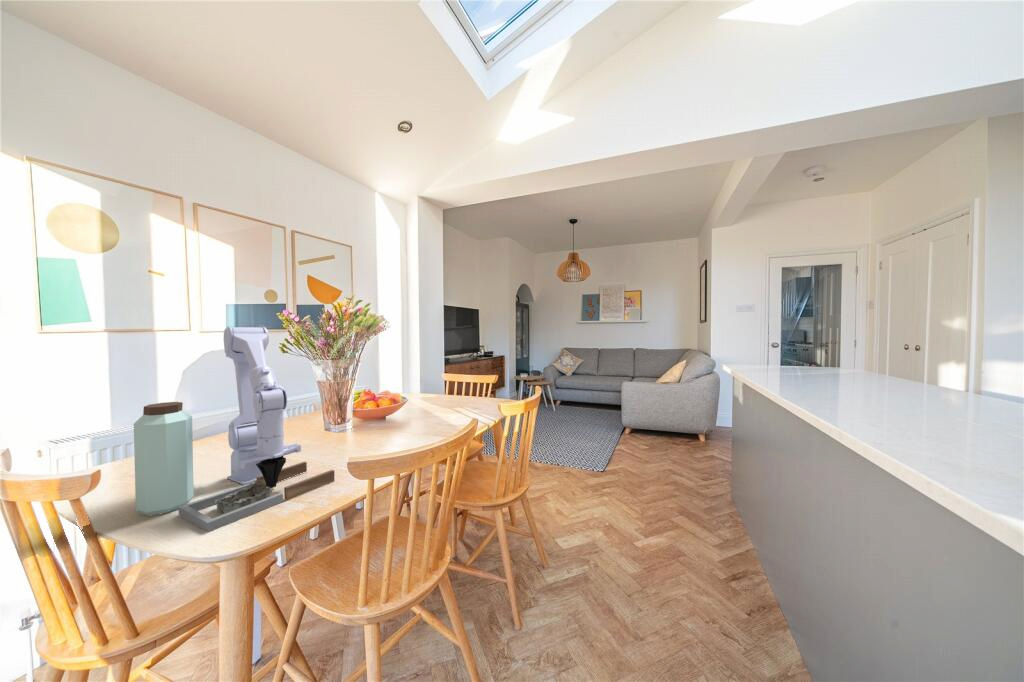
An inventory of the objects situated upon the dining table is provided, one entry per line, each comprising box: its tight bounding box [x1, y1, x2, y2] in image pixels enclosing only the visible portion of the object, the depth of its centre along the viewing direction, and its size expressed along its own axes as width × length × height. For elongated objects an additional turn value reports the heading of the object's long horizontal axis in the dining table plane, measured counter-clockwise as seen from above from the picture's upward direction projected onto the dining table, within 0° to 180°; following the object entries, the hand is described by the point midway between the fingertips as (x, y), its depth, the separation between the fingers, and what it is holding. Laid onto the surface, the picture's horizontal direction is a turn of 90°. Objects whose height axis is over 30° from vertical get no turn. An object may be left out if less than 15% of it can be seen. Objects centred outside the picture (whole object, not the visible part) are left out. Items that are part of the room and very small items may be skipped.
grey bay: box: [178, 482, 284, 533], centre depth 84 cm, size 14×15×2 cm
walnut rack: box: [257, 461, 335, 501], centre depth 98 cm, size 14×13×3 cm
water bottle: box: [133, 401, 195, 517], centre depth 85 cm, size 10×10×25 cm
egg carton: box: [214, 480, 275, 514], centre depth 86 cm, size 11×8×4 cm
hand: (271, 486), depth 92 cm, fingers closed
